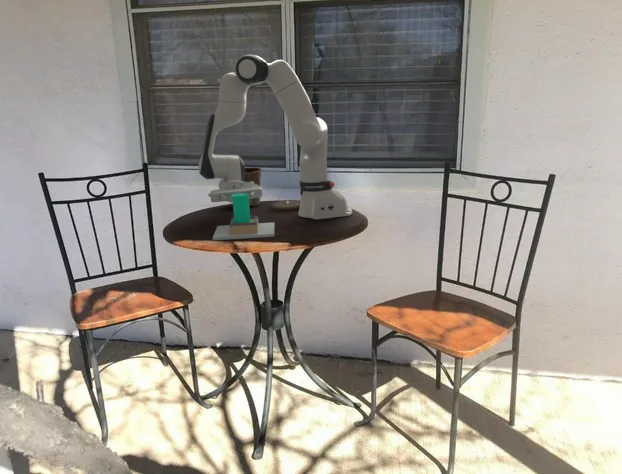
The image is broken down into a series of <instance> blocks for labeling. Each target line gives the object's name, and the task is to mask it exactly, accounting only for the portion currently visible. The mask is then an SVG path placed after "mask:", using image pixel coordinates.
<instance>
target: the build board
mask: <svg viewBox="0 0 622 474" xmlns="http://www.w3.org/2000/svg"><path fill="white" fill-rule="evenodd" d="M250 219H251V222H247V223H235V221H234V216H233V217H231V219H230V223H229V224H227V225H217V226H216V228H215V231H214V234H213V236H212V241H225V240H228V241H229V240H242V239H255V238H258V239H259V238H272V237H273V238H275V226H276V225H275V221H274V222H260V223H259V217H258V216H257V215H250Z"/></svg>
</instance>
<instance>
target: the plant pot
mask: <svg viewBox="0 0 622 474" xmlns="http://www.w3.org/2000/svg"><path fill="white" fill-rule="evenodd" d="M262 171H263V169H262V168H261V167H245V178H244V180H243V181H247V182H254V184H256V185H258V186H260V187H261V179H262ZM259 205H261V197H259V198H253V199H249V208H250V207H257V206H259Z"/></svg>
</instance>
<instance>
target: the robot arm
mask: <svg viewBox="0 0 622 474" xmlns="http://www.w3.org/2000/svg"><path fill="white" fill-rule="evenodd" d="M264 84H267V85H268V86H269V87H270V88H271V91H273V94H274V95H275V97H276V99H277V101H278V103H279V105H280V106H281V108H282V110H283V112H284V114H285V116H286V118H287V119H286V120H287V122H288V125H289V127H290V129H291V132H292V133H293V137H294V139H295V142H296V143H297V144H298V145H299V146H300V155H299V178H300V180H299V183H298V188H299V195H300V200H299V201H300V204H299V210H298V216H299V217H302V218H309V219H312V220H323V219H332V218H339V217H342V218H343V217H350V216H351V215H353V209H352V208H351V207H350V206H348V204H347V203H348V202H347V200H346V198H345V197H344V195H342V194H341V193H340V192H338V191H337V190H335V189H334V187H335V183H334V181H332V180H331V179H328V160H327V159H328V158H327V157H328V141H329V140H328V131H329V130H328V125H327V123H326V122H325V121H324V119H322V118H320V117H317V115H316V113H315V111H314V108H313V106H312V103H311V99H310V98H309V95H308V94H307V91H306V90H305V88H304V86H303V84H302V83H301V81H300V79H299V77H298V76H297V74H296V72H295V71H294V69H293V68H292V67H291V66H290V64H289V63H288V62H287V61H286V60H284V59H277V60H274V61H272V62H271V63H268V61H266V59H264V58H262V57H260V56H259V55H255V54H245V55H242V56H241V57H240V58H239V59H238V60H237V61H236V64H235V71H234V72H227V73H225V74H223V76H222V77H221V79H220V83H219V90H218V104H217V108H216V109H215V111H214V113H211V114H210V116H209V118H208V121H207V126H206V131H205V134H204V136H205V137H204V140H203V146H202V152H201V156H200V158H199V163H198V171H199V173H198V174H199V175H200V176H201V177H203V179H206V180H216V179H220V180H219V182H218V189H213V190H211V191H210V193H207V196H208V197H209V198H210V202H211V203H223V202H229V203H232V204H233V200H232V195H233V194H237V193H247V194H248V196H249V199H253V198H259V197H260V198H263V188H262V187H261V185H260V186H258V185H256V184H254V182H247V181H243V180H244V178H245V168H246V165H245V161H244V160H243V158H242V157H241V156H240V155H237V154H235V155H233V154H215V153H214V147H215V144H216V138H217V136H218V133H219V132H220V131H222V130H223V129H226V128H229V127H232V126H234V125H237V124H239V123H241V122H242V121H243V119H244V118H245V116H246V111H247V97H248V96H247V95H248V90H249V88H254V87H258V86H262V85H264Z"/></svg>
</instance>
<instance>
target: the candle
mask: <svg viewBox="0 0 622 474" xmlns="http://www.w3.org/2000/svg"><path fill="white" fill-rule="evenodd" d="M232 200H233V203H232V209H233V217H234V221H235V223H247V222H251V219H250V216H251V212H250V211H251V210H250V207H249V196H248V194H247V193H237V194H233V195H232Z"/></svg>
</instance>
